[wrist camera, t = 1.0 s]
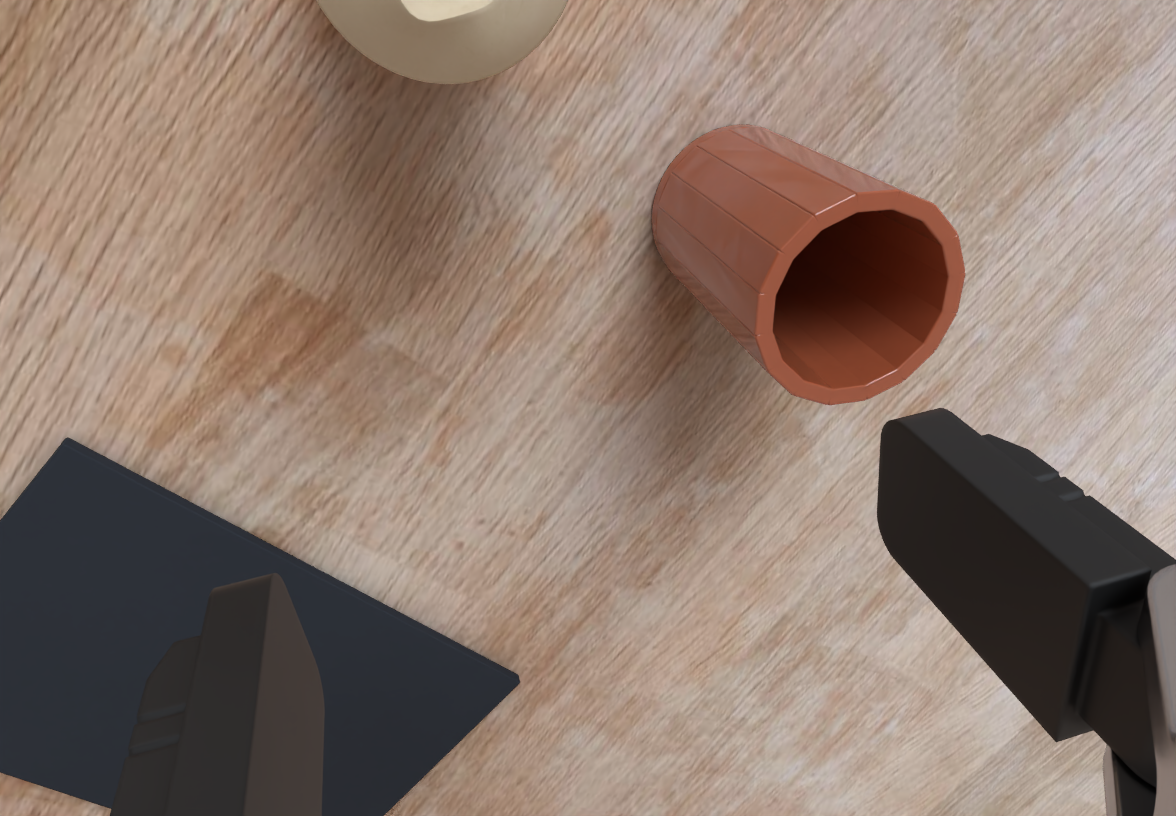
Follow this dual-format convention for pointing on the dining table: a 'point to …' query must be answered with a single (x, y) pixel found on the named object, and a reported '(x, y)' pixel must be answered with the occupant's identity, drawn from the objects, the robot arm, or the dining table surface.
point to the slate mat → (176, 612)
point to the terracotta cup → (809, 261)
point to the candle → (444, 34)
